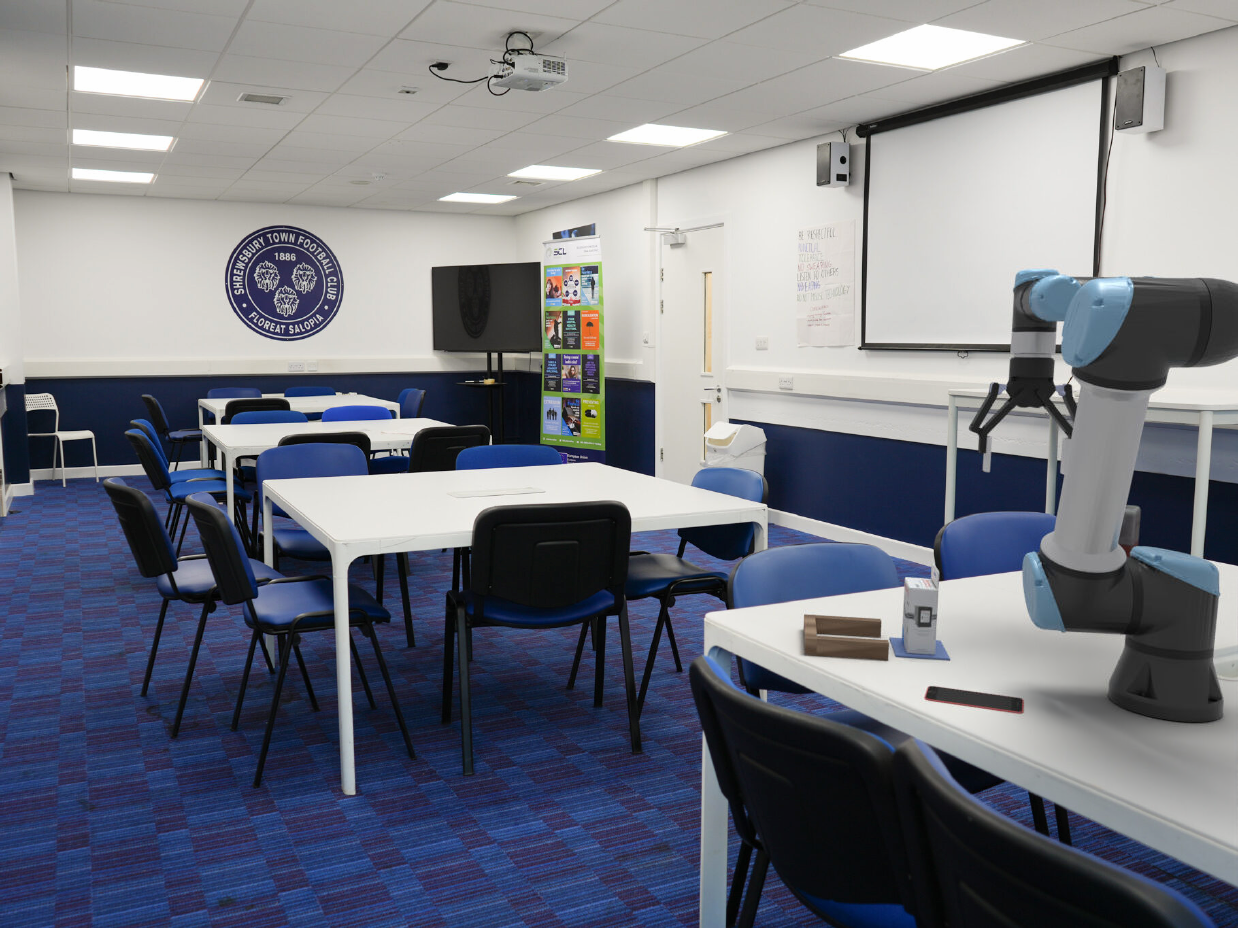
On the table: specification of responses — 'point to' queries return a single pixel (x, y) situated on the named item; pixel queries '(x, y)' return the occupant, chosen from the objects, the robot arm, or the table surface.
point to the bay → (842, 644)
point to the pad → (901, 652)
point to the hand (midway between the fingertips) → (1025, 472)
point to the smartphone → (975, 699)
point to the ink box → (920, 613)
